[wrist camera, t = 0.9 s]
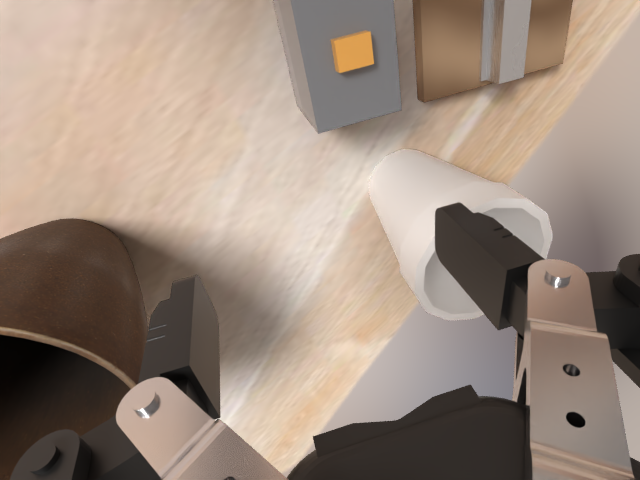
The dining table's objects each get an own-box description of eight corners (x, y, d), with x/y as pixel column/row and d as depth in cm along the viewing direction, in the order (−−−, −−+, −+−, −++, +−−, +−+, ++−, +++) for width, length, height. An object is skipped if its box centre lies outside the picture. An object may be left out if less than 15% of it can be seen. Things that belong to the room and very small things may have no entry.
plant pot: (-16, 135, 25) (-265, 284, 12) (203, 213, 32) (194, 365, 19) (-46, 299, 31) (-240, 523, 18) (145, 337, 37) (108, 521, 24)
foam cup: (462, 135, 33) (578, 200, 23) (433, 226, 38) (517, 315, 27) (361, 128, 31) (438, 196, 20) (343, 226, 36) (398, 324, 25)
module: (268, -20, 24) (288, -25, 18) (348, -39, 25) (395, -52, 18) (297, 105, 29) (321, 137, 22) (364, 87, 29) (407, 113, 23)
